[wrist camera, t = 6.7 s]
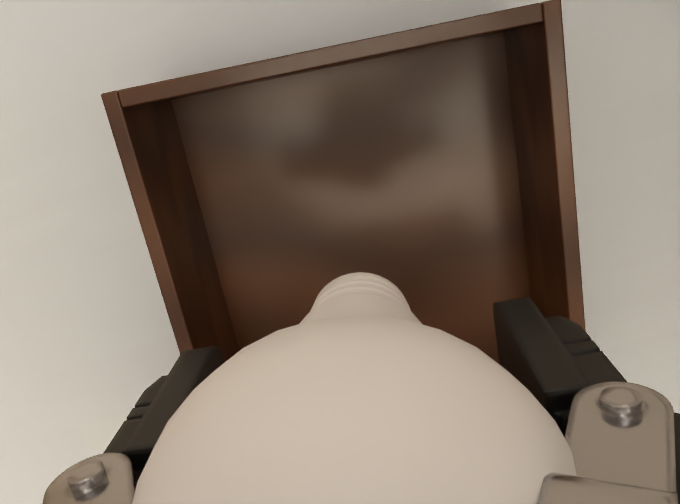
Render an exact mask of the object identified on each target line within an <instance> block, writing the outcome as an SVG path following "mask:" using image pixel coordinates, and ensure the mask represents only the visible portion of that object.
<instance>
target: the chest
mask: <svg viewBox="0 0 680 504" xmlns="http://www.w3.org/2000/svg"><path fill="white" fill-rule="evenodd" d="M101 97H102V100H103V103H104V107H105V110H106V113H107V116H108V120H109V123H110V126H111V129H112V133H113V136H114V139H115V142H116V146H117V149H118V152H119V155H120V159H121V162H122V165H123V169H124V172H125V175H126V178H127V182H128V185H129V188H130V191H131V195H132V198H133V201H134V204H135V208H136V211H137V214H138V217H139V221H140V224H141V227H142V231H143V234H144V237H145V240H146V244H147V247H148V250H149V253H150V257H151V260H152V263H153V266H154V270H155V273H156V276H157V279H158V283H159V286H160V289H161V293H162V296H163V299H164V302H165V306H166V309H167V312H168V315H169V319H170V322H171V325H172V328H173V332H174V335H175V338H176V342H177V345H178V348H179V351H180V355H181V353H182V352H183V351H186V350H192V349H199V348H205V347H211V346H218V347H219V348H220V349H221V351H222V353H223V356H224V359H225V362H226V361H227V360H229V359H230V358H231V357H232V356H234V355H235V354H236V353H237V352H239V351H240V350H241V349H242V348H244V347H246V346H248V345H250V344H252V343H254V342H256V341H258V340H260V339H262V338H264V337H266V336H268V335H270V334H272V333H273V332H275V331H277V330H281V329H284V328H288V327H291V326H295V325H298V324H300V322H301V321H302V320H303V319H304V318H305V317H306V315H307V314H308V313H309V312H310V310H311V309H312V307H313V305H314V302H315V300H316V298H317V296H318V294H319V293H320V292H321V290H322V289H323V288H324V287H325V286H326V285H327V284H328V283H330V282H331V281H332V280H334V279H336V278H338V277H340V276H343V275H346V274H349V273H358V272H363V273H372V274H375V275H379V276H381V277H383V278H385V279H387V280H389V281H390V282H391V283H393V284H394V285H395V286H396V287H397V288H398V289H399V290H400V291H401V292H402V294H403V296H404V297H405V299H406V301H407V303H408V305H409V307H410V310H411V312H412V313H413V314H414V315H415V316H416V317H417V319H418V320H419V321H420V322H421V323H422V325H426V326H429V327H433V328H437V329H440V330H442V331H444V332H446V333H448V334H451V335H453V336H455V337H457V338H459V339H461V340H463V341H465V342H467V343H469V344H471V345H473V346H475V347H477V348H478V349H480V350H481V351H482V352H484V353H485V354H486V355H488V356H489V357H490V358H491V359H493V360H494V361H495V362H497V363H498V364H499V358H498V349H497V341H496V332H495V324H494V315H493V304H494V302H500V301H507V300H513V299H520V298H526V297H530V298H531V299H532V301H533V302H534V303H535V305H536V306H537V308H538V309H539V310H540V312H541V313H542V315H543V316H544V317H545V318H547V317H554V316H562V317H565V318H567V319H569V320H571V321H573V322H575V323H577V324H579V325H580V326H581V327H582V328H583V329H584V330H585V319H584V305H583V292H582V278H581V265H580V251H579V238H578V224H577V211H576V197H575V184H574V170H573V157H572V143H571V130H570V116H569V103H568V89H567V76H566V62H565V49H564V35H563V22H562V8H561V0H550V1H546V2H542V3H536V4H531V5H526V6H521V7H517V8H512V9H507V10H502V11H497V12H493V13H488V14H483V15H478V16H473V17H468V18H464V19H459V20H454V21H449V22H444V23H440V24H435V25H430V26H425V27H420V28H416V29H411V30H406V31H401V32H396V33H391V34H387V35H382V36H377V37H372V38H367V39H363V40H358V41H353V42H348V43H343V44H338V45H334V46H329V47H324V48H319V49H314V50H310V51H305V52H300V53H295V54H290V55H286V56H281V57H276V58H271V59H266V60H261V61H257V62H252V63H247V64H242V65H237V66H233V67H228V68H223V69H218V70H213V71H209V72H204V73H199V74H194V75H189V76H184V77H180V78H175V79H170V80H165V81H160V82H156V83H151V84H146V85H141V86H136V87H131V88H127V89H122V90H119V91H112V92H107V93H103V94H101Z"/></svg>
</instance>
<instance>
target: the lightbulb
mask: <svg viewBox="0 0 680 504" xmlns="http://www.w3.org/2000/svg"><path fill="white" fill-rule="evenodd" d="M550 473H560V474H566V475H572V476H577V474H576V469H575V464H574V459H573V455H572V451H571V449H570V447H569V445H568V443H567V441H566V440H565V438H564V436H563V434H562V432H561V430H560V429H559V427H558V425H557V423H556V421H555V420H554V419H553V418H552V417H551V415H550V414H549V413H548V412H547V411H546V410H545V408H544V407H543V406H542V405H541V404H540V403H539V401H538V400H537V399H536V398H535V397H534V396H533V394H532V393H531V392H530V391H529V390H528V389H527V388H526V387H525V386H524V385H523V384H522V383H520V382H519V381H518V380H517V379H516V378H515V377H514V376H513V375H512V374H511V373H509V372H508V371H507V370H506V369H505V368H503V367H502V366H501V365H499V364H498V363H497V362H495V361H494V360H493V359H491V358H490V357H489V356H488V355H486V354H485V353H484V352H482V351H481V350H480V349H478V348H477V347H475V346H473V345H471V344H469V343H467V342H465V341H463V340H461V339H459V338H457V337H455V336H453V335H451V334H448V333H446V332H444V331H442V330H440V329H437V328H433V327H429V326H426V325H422V323H421V322H420V321H419V320H418V319H417V317H416V316H415V315H414V314H413V313H412V312H411V310H410V307H409V305H408V303H407V301H406V299H405V297H404V296H403V294H402V292H401V291H400V290H399V289H398V288H397V287H396V286H395V285H394V284H393V283H391V282H390V281H389V280H387V279H385V278H383V277H381V276H379V275H375V274H372V273H363V272H358V273H349V274H346V275H343V276H340V277H338V278H336V279H334V280H332V281H331V282H330V283H328V284H327V285H326V286H325V287H324V288H323V289H322V290H321V292H320V293H319V294H318V296H317V298H316V300H315V302H314V305H313V307H312V309H311V310H310V312H309V313H308V314H307V315H306V317H305V318H304V319H303V320H302V321H301V322H300V324H298V325H295V326H291V327H288V328H284V329H281V330H277V331H275V332H273V333H272V334H270V335H268V336H266V337H264V338H262V339H260V340H258V341H256V342H254V343H252V344H250V345H248V346H246V347H244V348H242V349H241V350H240V351H239V352H237V353H236V354H235V355H234V356H232V357H231V358H230V359H229V360H227V361H226V362H225V363H224V364H222V365H221V366H220V367H219V368H217V369H216V370H215V371H214V372H212V373H211V374H210V375H209V376H208V377H207V378H206V379H205V380H204V381H203V382H201V383H200V384H199V385H198V386H197V387H196V388H195V389H194V390H193V391H192V392H191V393H190V395H189V396H188V397H187V398H186V399H185V401H184V402H183V403H182V404H181V406H180V407H179V408H178V409H177V411H176V412H175V413H174V414H173V416H172V417H171V418H170V419H169V420H168V422H167V424H166V426H165V428H164V430H163V431H162V433H161V435H160V437H159V439H158V441H157V443H156V444H155V446H154V448H153V450H152V453H151V455H150V457H149V459H148V461H147V463H146V465H145V467H144V469H143V471H142V473H141V475H140V477H139V480H138V482H137V486H136V490H135V494H134V499H133V503H132V504H537V503H538V498H539V494H540V490H541V486H542V482H543V479H544V477H545V476H546V475H547V474H550Z"/></svg>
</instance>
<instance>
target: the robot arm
mask: <svg viewBox="0 0 680 504" xmlns="http://www.w3.org/2000/svg"><path fill="white" fill-rule="evenodd" d="M493 315H494V324H495V332H496V341H497V349H498V358H499V365H501V366H502V367H503V368H505V369H506V370H507V371H508V372H509V373H511V374H512V375H513V376H514V377H515V378H516V379H517V380H518V381H519V382H520V383H522V384H523V385H524V386H525V387H526V388H527V389H528V390H529V391H530V392H531V393H532V394H533V396H534V397H535V398H536V399H537V400H538V401H539V403H540V404H541V405H542V406H543V407H544V408H545V410H546V411H547V412H548V413H549V414H550V415H551V417H552V418H553V419H554V420H555V421H556V423H557V425H558V427H559V429H560V430H561V432H562V434H563V436H564V438H565V440H566V441H567V443H568V445H569V447H570V449H571V451H572V455H573V459H574V464H575V469H576V474H577V476H572V475H566V474H560V473H550V474H547V475H546V476H545V477H544V479H543V482H542V486H541V490H540V494H539V498H538V503H537V504H680V414H678V413H674V411H673V407H672V405H671V403H670V402H669V401H668V399H667V398H666V397H664V396H663V395H662V394H660V393H659V392H657V391H655V390H653V389H651V388H648V387H645V386H642V385H639V384H634V383H628V382H627V381H626V380H625V379H624V378H623V376H622V375H621V374H620V373H619V372H618V370H617V369H616V368H615V367H614V365H613V364H612V363H611V362H610V361H609V359H608V358H607V357H606V356H605V355H604V353H603V352H602V351H600V349H599V347H598V346H597V345H596V344H595V343H594V341H593V340H592V341H591V338H590V337H589V335H588V334H587V333H586V332H585V330H584V329H583V328H582V327H581V326H580V325H579V324H577V323H575V322H573V321H571V320H569V319H567V318H565V317H562V316H554V317H547V318H545V317H544V316H543V315H542V313H541V312H540V310H539V309H538V308H537V306H536V305H535V303H534V302H533V301H532V299H531V298H530V297H526V298H520V299H513V300H507V301H500V302H494V304H493ZM224 363H225V359H224V356H223V353H222V351H221V349H220V348H219V347H218V346H211V347H205V348H199V349H192V350H186V351H183V352H182V353H181V355H180V357H179V358H178V360H177V361H176V363H175V365H174V366H173V368H172V370H171V371H170V373H169V374H168V375H167V376H162V377H161V378H159V379H158V380H157V381H156V382H155V383H153V384H152V385H151V386H150V387H148V388H147V389H146V390H145V391H144V392H143V394H142V395H141V397H140V398H139V400H138V401H137V403H136V405H135V408H133V409H132V411H131V412H130V414H129V415H128V417H127V421H124V423H123V424H122V426H121V427H120V429H119V430H118V432H117V433H116V435H115V436H114V438H113V439H112V441H111V442H110V444H109V446H108V447H107V449H106V450H105V452H104V453H103V454H100V455H96V456H93V457H90V458H87V459H85V460H82V461H80V462H78V463H77V464H75V465H73V466H71V467H70V468H68V469H67V470H65V471H64V472H63V473H61V474H60V475H59V476H58V477H57V478H56V479H55V480H54V481H53V482H52V483H51V484H50V485H49V487H48V488H47V490H46V492H45V495H44V499H43V504H132V503H133V499H134V494H135V490H136V486H137V482H138V480H139V477H140V475H141V473H142V471H143V469H144V467H145V465H146V463H147V461H148V459H149V457H150V455H151V453H152V450H153V448H154V446H155V444H156V443H157V441H158V439H159V437H160V435H161V433H162V431H163V430H164V428H165V426H166V424H167V422H168V420H169V419H170V418H171V417H172V416H173V414H174V413H175V412H176V411H177V409H178V408H179V407H180V406H181V404H182V403H183V402H184V401H185V399H186V398H187V397H188V396H189V395H190V393H191V392H192V391H193V390H194V389H195V388H196V387H197V386H198V385H199V384H200V383H201V382H203V381H204V380H205V379H206V378H207V377H208V376H209V375H210V374H211V373H212V372H214V371H215V370H216V369H217V368H219V367H220V366H221V365H222V364H224Z"/></svg>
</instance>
